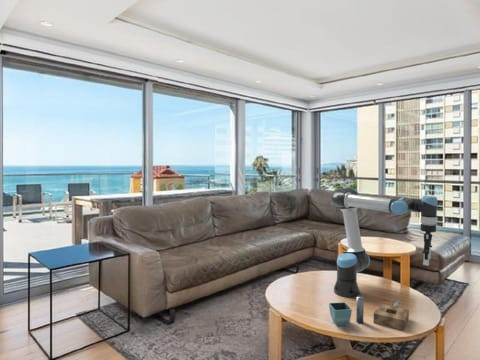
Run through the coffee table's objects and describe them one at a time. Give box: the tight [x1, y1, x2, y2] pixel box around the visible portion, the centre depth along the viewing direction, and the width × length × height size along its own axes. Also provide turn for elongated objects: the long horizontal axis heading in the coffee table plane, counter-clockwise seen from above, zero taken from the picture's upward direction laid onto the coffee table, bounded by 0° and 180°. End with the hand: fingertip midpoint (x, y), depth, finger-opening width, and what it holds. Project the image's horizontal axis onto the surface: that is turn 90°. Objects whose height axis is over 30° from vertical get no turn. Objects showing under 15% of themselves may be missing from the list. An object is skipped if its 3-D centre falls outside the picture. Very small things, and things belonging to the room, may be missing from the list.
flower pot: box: [328, 301, 353, 327], centre depth 167 cm, size 9×9×9 cm
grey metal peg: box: [355, 295, 365, 325], centre depth 168 cm, size 3×3×13 cm
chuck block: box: [373, 300, 410, 331], centre depth 175 cm, size 14×26×5 cm, turn 145°
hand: (426, 261), depth 184 cm, fingers open, 13 cm apart
